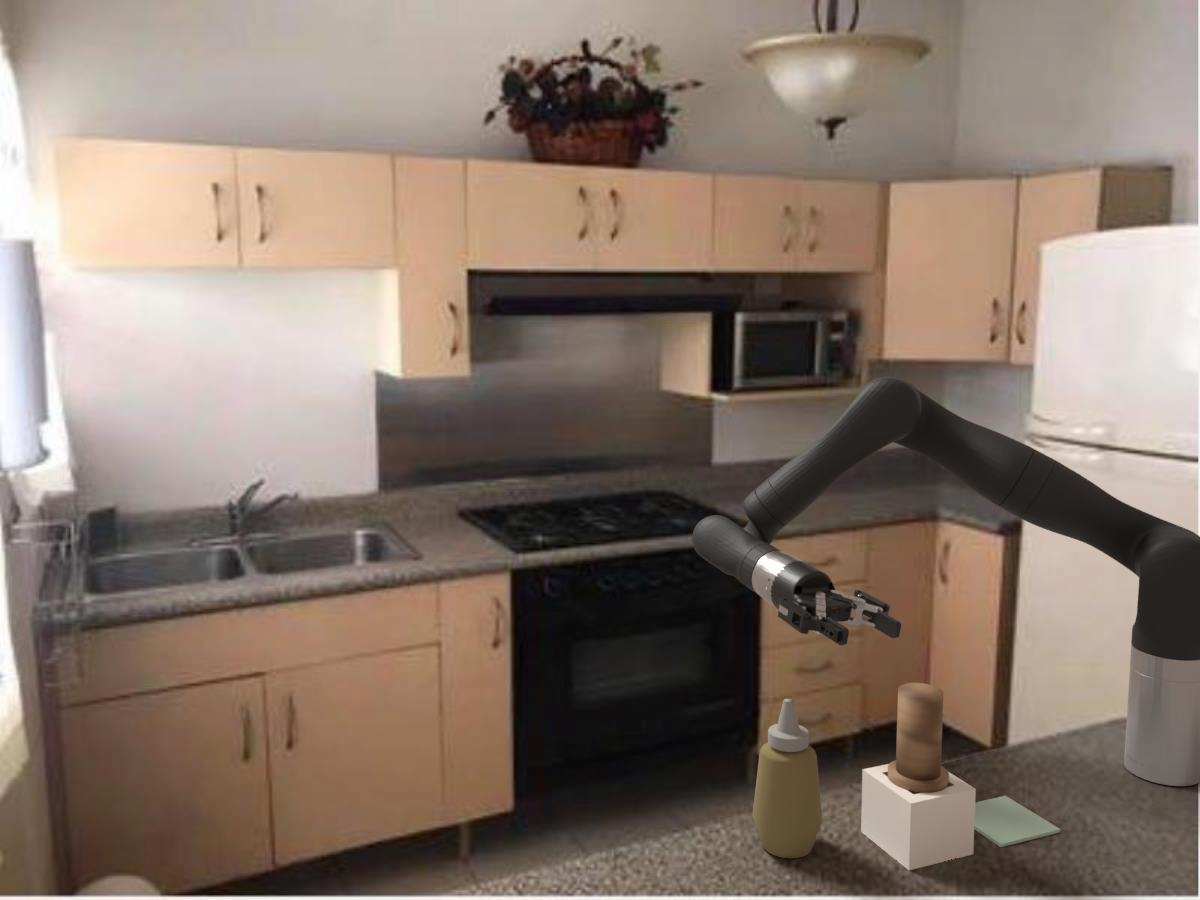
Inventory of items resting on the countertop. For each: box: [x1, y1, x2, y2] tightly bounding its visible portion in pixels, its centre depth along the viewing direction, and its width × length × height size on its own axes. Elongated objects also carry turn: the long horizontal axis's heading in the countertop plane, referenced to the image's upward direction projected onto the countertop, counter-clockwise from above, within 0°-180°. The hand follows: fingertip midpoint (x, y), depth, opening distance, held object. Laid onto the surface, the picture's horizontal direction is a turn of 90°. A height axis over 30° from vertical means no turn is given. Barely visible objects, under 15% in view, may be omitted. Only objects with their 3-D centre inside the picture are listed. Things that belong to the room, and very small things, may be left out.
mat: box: [974, 795, 1061, 848], centre depth 121 cm, size 9×9×1 cm
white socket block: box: [860, 763, 977, 871], centre depth 116 cm, size 9×9×8 cm
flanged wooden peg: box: [888, 682, 950, 794], centre depth 115 cm, size 7×7×12 cm
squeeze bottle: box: [752, 698, 823, 859], centre depth 115 cm, size 8×8×18 cm
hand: (872, 634), depth 121 cm, fingers open, 8 cm apart
